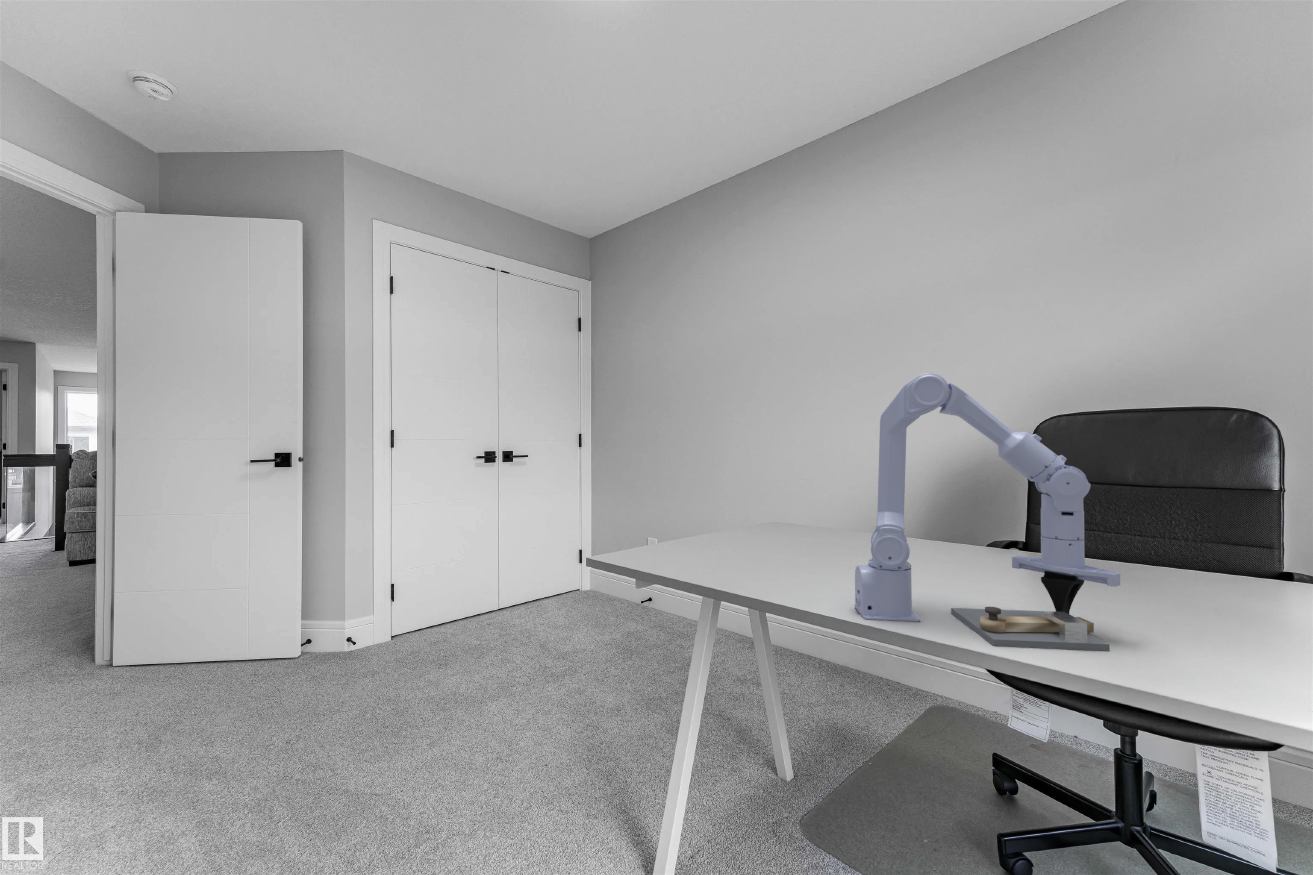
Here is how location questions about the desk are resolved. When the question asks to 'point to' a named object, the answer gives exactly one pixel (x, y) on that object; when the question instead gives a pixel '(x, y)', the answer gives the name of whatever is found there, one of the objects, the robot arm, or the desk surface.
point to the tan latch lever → (1021, 623)
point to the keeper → (1069, 627)
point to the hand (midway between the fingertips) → (1063, 620)
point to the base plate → (1023, 638)
